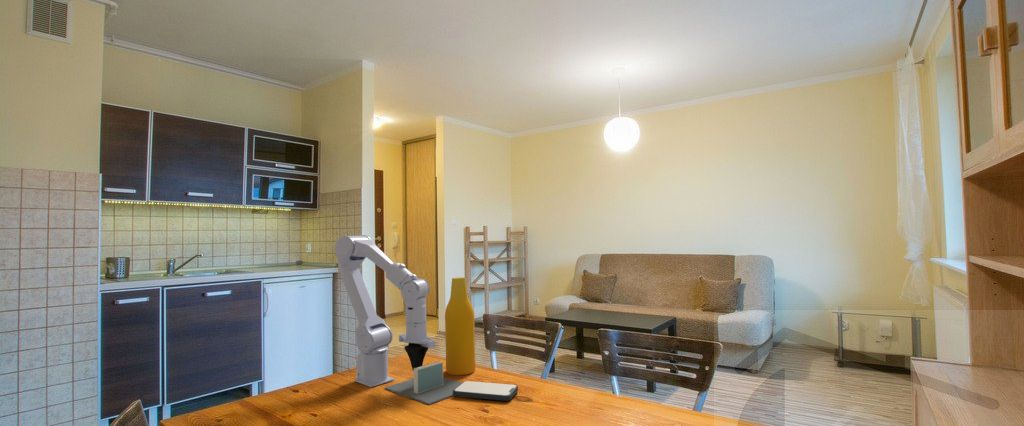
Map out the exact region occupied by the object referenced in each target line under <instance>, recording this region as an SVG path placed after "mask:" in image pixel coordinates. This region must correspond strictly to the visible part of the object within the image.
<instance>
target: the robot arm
mask: <svg viewBox="0 0 1024 426" xmlns="http://www.w3.org/2000/svg"><path fill="white" fill-rule="evenodd" d="M333 250H334V252H335V255H336V257H337V266H338V270H339V271H338V272H339V274H340V277H341V279H342V282H343V286H344V288H345V290H346V292H347V295H348V298H349V301H350V303H351V306H352V308H353V311H354V314H355V316H356V318H357V322H358V325H357V326H356V327H355V329H354V333H355V336H356V337H355V338H356V346H357V349H358V350H359V353H357V356H356V378H355V379H353V381H354V382H356V383H357V384H358V383H359V384H362V385H364V386H366V387H370V388H373V387H376V386H380V385H382V384H383V385H384V384H386V383H389V382H392V381H395V378H394V377H391V376H389V360H388V359H389V358H388V357H389V356H388V355H389V353H388V350H389V348H390V347H389V345H390V344H391V343H392V342H393V341H392V340H393V338H394V337H393V335H394V334H393V332H392V331H393V330H391V328H390V327H389V326H388V324H387V322H386V321H385V319H384V318H381V317H380V316H379V315H378V314H377V312H376V310H375V307H374V305H373V302H372V299H371V297H370V294H369V291H368V289H367V286H366V284H365V281H364V278H363V276H362V274H361V271H360V266H361V265H362V263H363V262H364V261H365V260H366V259H368V260H370V261H371V262H372V263H373V264H375V265H376V266H377V267H379V268H380V269H381V270H383V271H384V272H385V279H387V280H388V281H389V282H390V283H392V285H394V287H396V288H397V289H398V290H399V291H400V295H401V297H402V299H403V300H404V306H405V333H403V334H399V335H398V342H399V343H405V344H407V345H405V346H404V348H403V349H404V351H405V352H406V354H407V356H408V358H409V361H410V366H411V368H412V371H413V372H414V368H417V367H421V366H424V360H425V357H426V354H427V353H428V350H429V349H434V348H436V339H432V338H430V337H429V336H428V335H427V333H428V332H427V330H428V328H427V297H428V295H429V293H430V290H431V289H430V288H431V287H430V285H429V283H428V281H427V280H426V279H425V278H421V277H420V278H418V276H417V274H414V273H412V272H411V271H410V270H409V269H407V268H406V266H407V265H405V264H404V263H400V262H393V261H392V260H391V259H390V258H389V257H388V256H387V255H386V254H385V252H383V250H381V249H380V248H379V246H377V245H376V241H375V240H373V239H371V237H369V236H368V235H365V234H364V235H342V236H339V238H338V239H337V241H336V243H335V245H334V249H333Z"/></svg>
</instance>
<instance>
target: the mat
mask: <svg viewBox="0 0 1024 426" xmlns="http://www.w3.org/2000/svg"><path fill="white" fill-rule="evenodd" d="M461 383H463V381H458V380H454V379H453V378H452V379H451V378H447V377H444V376H443V385H442V386H439V387H436V388H433V389H430V390H427V391H424V392H421V393H418V394H417V393H414V378H412V379H411V378H410V379H408V380H405V381H401V382H398V383H395V384H392V385H388V386H385V387H384V390H387V391H389V392H393V393H396V394H398V395H401V396H403V397H405V398H408V399H412V400H414V401H417V402H420V403H423V404H426V405H428V406H430V405H433V404H436V403H438V402H441V401H444V400H447V399H450V398H452V397H455V396H454V395H453V390H454V389H455V388H456V387H458V386H459V385H460V384H461Z"/></svg>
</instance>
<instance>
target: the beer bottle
mask: <svg viewBox="0 0 1024 426" xmlns="http://www.w3.org/2000/svg"><path fill="white" fill-rule="evenodd" d="M444 331H445V335H444V336H445V338H444V339H445V370H446V373H447V374H448V375H451V376H466V375H470V374H472V373H474V372H475V371H476V368H477V367H476V365H477V364H476V363H477V362H476V344H475V343H476V338H475V336H476V335H475V334H476V333H475V332H476V331H475V311H474V307H473V305H472V303H471V300H470V299H469V295H468V287H467V279H466V277H462V276H461V277H458V276H457V277H452V278H451V287H450V298H449V301H448V303H447V305H446V308H445V313H444Z"/></svg>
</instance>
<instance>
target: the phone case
mask: <svg viewBox="0 0 1024 426" xmlns="http://www.w3.org/2000/svg"><path fill="white" fill-rule="evenodd" d="M517 392H519V386H518V385H517V384H509V383H508V384H506V383H497V382H483V381H471V380H465V381H462V383H461V384H460V385H459V386H458V387H456V388H455V389H454V390H453V395H454V396H453V397H462V398H470V399H482V400H492V401H505V402H508V401H511V400H512V398H513V397H514V396H515V395H516V394H517Z"/></svg>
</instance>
